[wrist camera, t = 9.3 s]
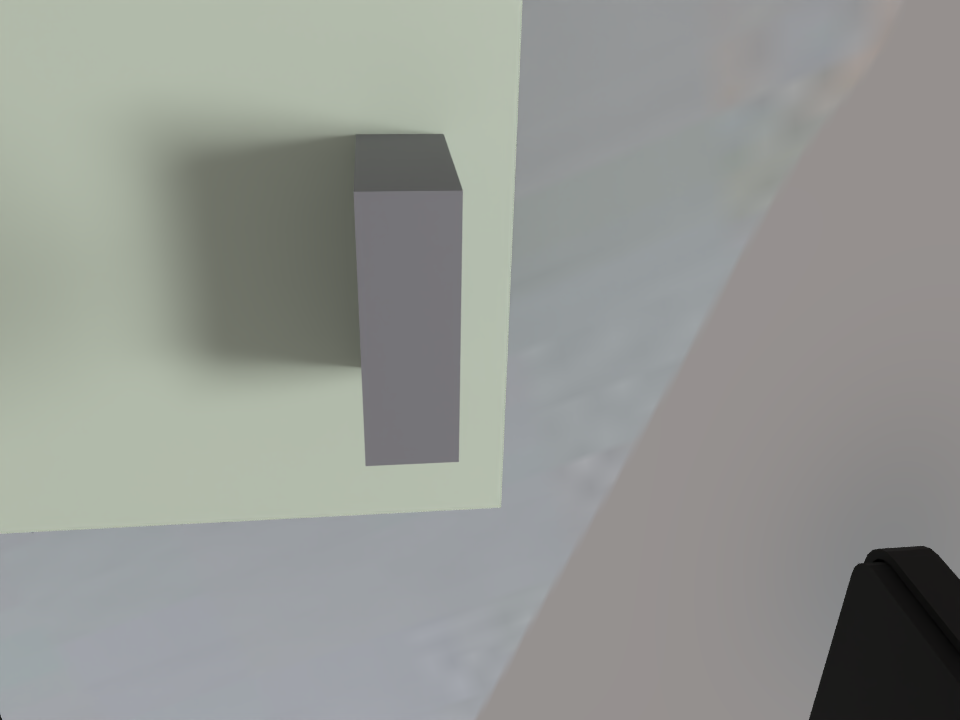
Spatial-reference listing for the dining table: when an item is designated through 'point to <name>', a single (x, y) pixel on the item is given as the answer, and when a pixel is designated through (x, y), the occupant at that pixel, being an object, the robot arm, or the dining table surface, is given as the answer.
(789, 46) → the dining table surface
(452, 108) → the lid
